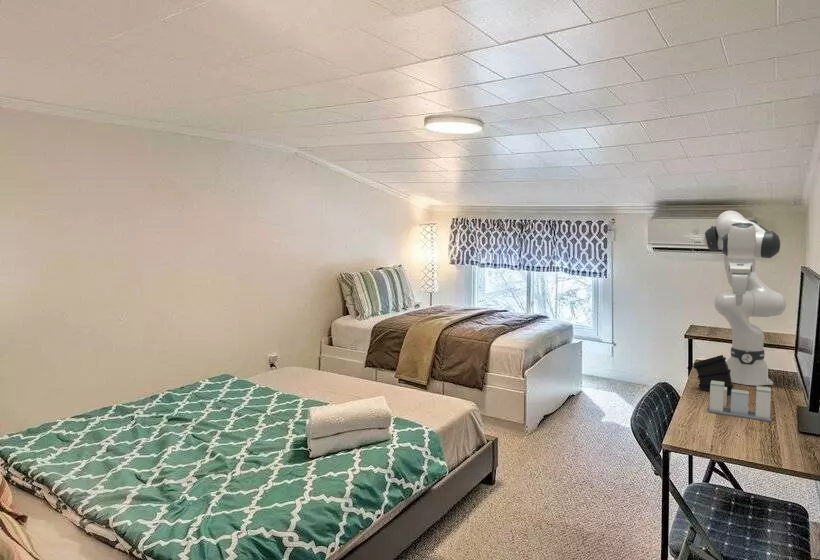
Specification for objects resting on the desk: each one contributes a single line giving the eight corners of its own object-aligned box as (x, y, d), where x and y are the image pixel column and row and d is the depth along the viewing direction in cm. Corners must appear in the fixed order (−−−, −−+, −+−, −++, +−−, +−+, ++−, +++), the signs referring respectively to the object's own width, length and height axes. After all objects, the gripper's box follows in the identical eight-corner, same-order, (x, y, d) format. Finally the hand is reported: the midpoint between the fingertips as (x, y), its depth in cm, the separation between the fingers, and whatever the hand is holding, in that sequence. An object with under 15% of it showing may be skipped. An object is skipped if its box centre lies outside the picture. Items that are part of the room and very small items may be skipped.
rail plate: (707, 412, 180) (707, 409, 180) (709, 406, 186) (709, 404, 186) (771, 422, 170) (771, 419, 170) (771, 416, 176) (771, 413, 176)
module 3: (755, 417, 173) (756, 389, 173) (755, 413, 177) (756, 386, 177) (769, 419, 171) (771, 391, 170) (769, 415, 175) (770, 387, 174)
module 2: (730, 412, 178) (731, 391, 177) (731, 409, 181) (731, 389, 181) (747, 415, 175) (748, 394, 174) (747, 412, 178) (748, 391, 178)
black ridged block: (740, 392, 197) (721, 355, 200) (704, 401, 205) (687, 365, 209) (741, 390, 200) (723, 354, 203) (706, 399, 208) (690, 363, 211)
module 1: (709, 410, 181) (710, 383, 180) (710, 406, 185) (711, 380, 184) (722, 412, 179) (723, 385, 178) (723, 408, 183) (724, 381, 182)
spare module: (709, 403, 190) (710, 387, 189) (710, 400, 193) (711, 385, 193) (725, 406, 187) (726, 389, 187) (726, 403, 190) (727, 387, 190)
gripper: (731, 265, 198) (730, 300, 200) (729, 268, 182) (727, 307, 183) (751, 265, 195) (749, 301, 196) (750, 269, 178) (748, 308, 179)
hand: (739, 304), depth 189 cm, fingers open, 8 cm apart
